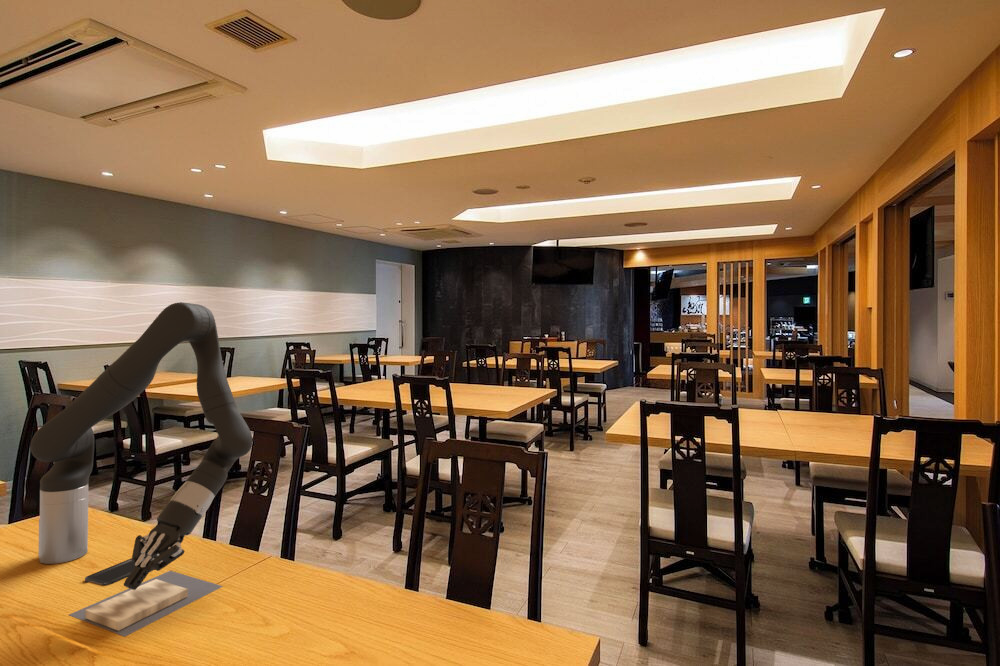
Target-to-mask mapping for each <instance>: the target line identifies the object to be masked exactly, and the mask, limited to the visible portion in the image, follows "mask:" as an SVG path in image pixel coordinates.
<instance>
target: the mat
mask: <svg viewBox="0 0 1000 666" xmlns="http://www.w3.org/2000/svg"><path fill="white" fill-rule="evenodd" d="M155 579H157V580H161V581H164V582H167V583H170V584H174V585H177V586H180V587H183V588H186V589H188V597H186V598H184V599H182V600H180V601H178V602H176V603H174V604H172V605H169V606H167V607H165V608H163V609H161V610H159V611H157V612H155V613H153V614H151V615H149V616H147V617H145V618H143V619H141V620H139V621H137V622H135V623H133V624H131V625H129V626H127V627H125V628H123V629H121V630H119V631H118V630H115V629H112V628H110V627H107V626H105V625H102V624H99V623H97V622H94V621H91V620H89V619H86V618H85V610H86V609H89V608H91V607H93V606H95V605H98V604H100V603H102V602H105V601H107V600H109V599H111V598H114V597H116V596H118V595H121V594H123V593H125V592H127V591H130V590H132V589H129V588H127V589H125V590H123V591H120V592H118V593H116V594H113V595H111V596H109V597H106V598H104V599H102V600H98V601H97V602H95V603H92V604H90V605H88V606H85V607H83V608H82V609H81V608H80V609H79V610H76V611H74V612H72V613H69V614H68V616H70V617H72V618H74V619H77V620H80V621H83V622H86V623H89V625H90V624H91V625H93V626H95V627H98V628H101V629H104V630H107V631H109V632H111V633H114V634H117V635H119V636H122V637H127V636H129V635H131V634H134V633H135V632H136V631H138V630H140V629H143V628H145V627H147V626H148V625H151V624H152V623H154V622H156V621H159V620H160V619H162V618H164V617H166V616H169V615H170V614H173V613H174V612H176V611H178V610H179V609H181V608H184V607H186V606H188V605H190V604H191V603H193V602H196V601H197V600H199V599H201V598H203V597H206V596H208V595H209V594H212V593H213V592H215V591H217V590H219V589H221V588H222V587H223V588H224V586H223V585H221V584H217V583H213V582H209V581H207V580H203V579H199V578H196V577H193V576H191V575H187V574H183V573H180V572H176V571H173V570H169V571H166V572H163V573H162V574H159V575H157V576H155V577H153V578H152V577H151V578H150V579H148V580H145V581H143V582H142V583H141V584H140V586H141V585H143V584H146V583H148V582H150V581H153V580H155Z"/></svg>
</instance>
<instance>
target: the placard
mask: <svg viewBox="0 0 1000 666" xmlns="http://www.w3.org/2000/svg"><path fill="white" fill-rule="evenodd" d="M186 597H188V589H186V588H183V587H180V586H177V585H174V584H170V583H167V582H164V581H161V580H157V579H155V580H153V581H150V582H148V583H146V584H143V585H141V586H139V587H137V589H136V590H130V591H127V592H125V593H123V594H121V595H118V596H116V597H114V598H111V599H109V600H107V601H105V602H102V603H100V604H98V605H95V606H93V607H91V608H89V609H86V610H85V618H86V619H89V620H91V621H94V622H97V623H99V624H102V625H105V626H107V627H110V628H112V629H115V630H118V631H119V630H121V629H123V628H125V627H127V626H129V625H131V624H133V623H135V622H137V621H139V620H141V619H143V618H145V617H147V616H149V615H151V614H153V613H155V612H157V611H159V610H161V609H163V608H165V607H167V606H169V605H172V604H174V603H176V602H178V601H180V600H182V599H184V598H186Z"/></svg>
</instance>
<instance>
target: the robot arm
mask: <svg viewBox="0 0 1000 666" xmlns="http://www.w3.org/2000/svg"><path fill="white" fill-rule="evenodd" d="M217 328H218V327H217V323H216V319H215V317H214V314H213V312H212V311H211V310H210V309H209V308H208V307H206V306H205V305H201V304H196V303H191V302H182V301H181V302H175V303H171V304H170V305H168V306H166V307H165V308H163V309H162V310H161V312H160V313H159V314H158V315H157V316H156V318H155V319H154V320H153V321H152V322H151V324H150V325H148V327H147V329H145V331H144V332H143V333H142V334H141V336H140V337H139V338H138V339H137V340H136V341H135V342H134V343H132V344H131V345H130V346H129V347H128V348H127V349H126V350H125V351H124V352H123V353H122V354H121V355H120V356H119V357H118V358H117V359H116V360H115V361H113V362H112V363H111V364H110V365H109V366H108V367H106V369H105V370H104V371H102V372H101V374H100V375H98V376H97V378H96V379H94V381H93V382H91V384H89V386H87V387H86V388H85V389H84V390H83V391H82V392H81V393H80V394H79V395H78V396H77V397H76V398H75V399H74V400H73V401H72V402H71V403H70V404H69V405H67V407H65V408H64V409H63V410H61V411H60V412H59V413H58V414H56V415H55V416H54V417H53V418H51V419H50V420H48V421H47V422H46V423H44V424H43V425H42V426H40V428H38V429H37V430H36V431H35V433H34V435H33V437H32V438H31V442H30V451H31V455H32V456H33V457H34V458H35V459H37V460H38V461H40V462H42V463H43V462H44V463H53V465H52V467H51V468H50V469H49V470H48V471H47V472H46V473H45V474H44V475H43V476H42V477H40V480H39V519H38V558H39V560H38V561H39V563H41V564H45V565H46V564H47V565H51V564H52V565H53V564H54V565H55V564H62V563H67V562H71V561H74V560H76V559H79V558H81V557H84V556H85V555H86V554H87V553H88V551H89V549H88V545H89V544H88V543H89V541H88V540H89V478H90V475H91V474H92V472H93V468H94V456H95V455H94V454H95V433H94V431H93V427H94V426H96V425H97V424H98V423H100V422H101V421H103V420H106V419H107V418H109V417H110V416H112V415H114V414H116V413H117V412H120V410H122V409H124V408H125V407H127V406H128V405H129V404H131V402H133V401H134V400H136V399H137V398H138V396H139V395H141V394H142V393H143V392H144V391H145V390H146V389H147V387H149V386H150V384H151V383H152V381H153V380H154V378H155V375H156V372H157V369H158V366H159V364H160V362H161V361H162V360H163V358H164V357H165V356H166V355H167V354H168V353H170V352H171V350H173V349H174V348H175V347H176V346H178V345H179V344H181V343H183V342H188V343H189V344H190V346H191V348H192V350H193V353H194V355H195V359H196V365H197V366H196V367H197V369H196V370H197V373H196V393H197V398H198V400H199V403H200V406H201V408H202V412H203V414H204V417H205V419H206V421H207V423H209V424H210V425H213V427H214V429H215V430H216V434H217V435H218V436H217V437H216V438H215V439H214V440H213V442H212V443H211V444H210V446H209V447H208V449H207V450H206V452H205V454H204V455H203V457H202V459H201V461H200V462H199V464H198V465H197V466H196V468H194V470H193V471H192V473H191V474H190V475H189V477H188V478H187V479H186V481H185V482H184V483H183V484H182V485H181V486H180V487H179V489H178V490H177V491H176V492H175V494H173V496H172V497H171V499H170V500H169V501H168V503H166V505H165V507H164V508H163V509H162V511H161V512H160V513H159V515H158V516H157V518H156V522H157V524H156V525H155V526H154V527H153V528H152V529H151V530H150V531H149V532H148V534H146V535H144V536H142V535H137V536H136V537H135V540H134V545H133V550H132V556H131V558H132V561H133V562H134V563H135V568H134V569H133V570H132V572H131V573H130V575H129V576H128V577H127V578H125V580H124V582H123V586H124V587H126V588H127V589H132V590H136V589H137V587H139V586H140V584H141V583H143V582H144V580H145V579H146V578H147V576H148V574H149V573H152V572H153V571H156V572H160V571H161V570H163V569H164V568H165V567H167V566H169V565H170V564H171V563H173V562H174V561H175V560H176V561H177V559H179V558H180V557H182V556H183V555H184V554H185V550H184V549H183V548H182V543H183V541H184V539H185V537H186V536H189V535H191V534H192V532H193V530H194V529H195V527H196V526H197V525H198V524H199V522H200V521H201V519H202V518H203V516H204V515H205V513H206V512H207V511H208V509H210V506H211V504H212V502H213V500H214V498H215V497H216V496H217V494H218V492H219V491H220V490H221V489H222V487H223V486H224V484H225V483H226V480H227V479H228V473H229V471H230V470H231V468H232V466H233V465H234V464H235V462H236V461H237V460H238V459H240V458H242V457H244V456H246V455H247V454H248V453H249V452H250V451H251V449H252V447H253V443H254V442H253V435H252V432H251V429H250V428H249V426H248V424H247V422H246V420H245V419H244V417H243V415H242V414H241V412H240V411H239V410H238V407H237V403H236V401H235V397H234V395H233V392H232V390H231V387H230V385H229V381H228V379H227V378H228V377H227V374H226V371H225V367H224V363H223V358H222V352H221V351H222V350H221V346H220V340H219V335H218V329H217ZM139 556H140V557H139ZM162 561H163V562H162ZM159 562H161V563H159Z"/></svg>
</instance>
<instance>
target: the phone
mask: <svg viewBox="0 0 1000 666" xmlns="http://www.w3.org/2000/svg"><path fill="white" fill-rule="evenodd" d="M139 557H140V556H139ZM162 562H163V561H162ZM160 563H161V562H159V564H160ZM134 568H135V563H134V562H133V561H132V557H130V558H129V559H126V560H125V561H121V562H119V563H117V564H114V565H112V566H109V567H107V568H106V567H105V568H104V569H101V570H99V571H97V572H95V573H94V572H93V573H91V574H89V575H87V576H85V578H84V582H85V583H86V584H87V583H92V584H97V585H100V586H105V587H106V586H110V585H113V584H116V583H118V582H119V581H120V582H121V581H122V580H124V579H126V578H127V577H128V576H129V575H130V573H131V572H132V570H133V569H134Z"/></svg>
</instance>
